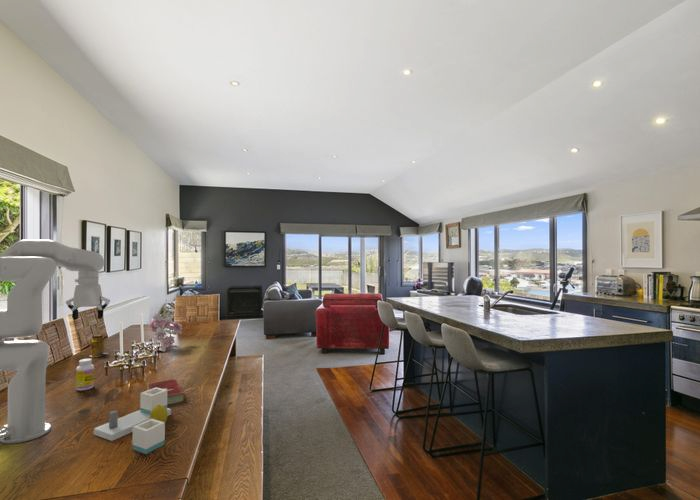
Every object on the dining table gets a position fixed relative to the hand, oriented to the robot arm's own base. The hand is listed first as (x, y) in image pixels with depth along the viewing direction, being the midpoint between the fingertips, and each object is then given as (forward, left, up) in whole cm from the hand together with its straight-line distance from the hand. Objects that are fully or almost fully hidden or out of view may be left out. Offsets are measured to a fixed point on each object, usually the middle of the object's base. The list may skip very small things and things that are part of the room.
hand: (88, 318), depth 166 cm
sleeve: (-21, -73, -31) cm, 82 cm away
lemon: (-12, -64, -31) cm, 72 cm away
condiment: (+34, +50, -31) cm, 68 cm away
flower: (+62, +28, -31) cm, 75 cm away
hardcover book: (+9, -41, -32) cm, 52 cm away
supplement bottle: (-1, -1, -31) cm, 31 cm away
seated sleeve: (-6, -54, -29) cm, 61 cm away
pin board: (-13, -54, -31) cm, 63 cm away
